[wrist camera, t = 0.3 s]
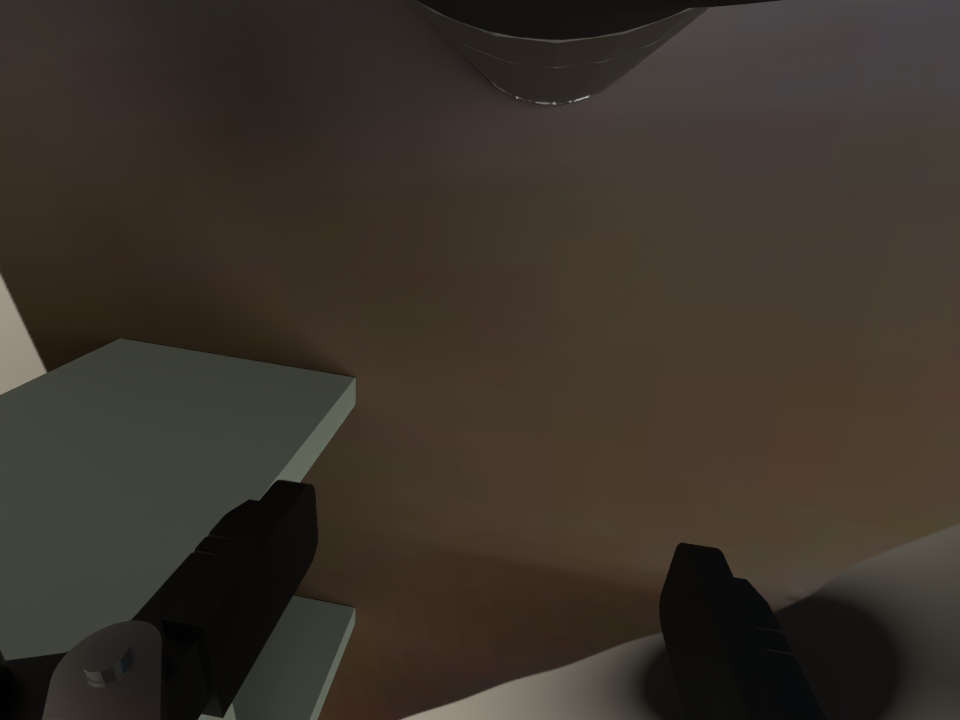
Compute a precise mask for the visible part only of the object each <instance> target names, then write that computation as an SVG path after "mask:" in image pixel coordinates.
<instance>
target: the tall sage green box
mask: <svg viewBox="0 0 960 720" xmlns="http://www.w3.org/2000/svg"><path fill="white" fill-rule="evenodd" d="M355 405H356V378H355V377H349V376H343V375H337V374H331V373H325V372H319V371H313V370H307V369H301V368H295V367H289V366H283V365H277V364H271V363H265V362H259V361H253V360H247V359H241V358H235V357H229V356H223V355H217V354H211V353H205V352H199V351H193V350H187V349H181V348H175V347H169V346H163V345H157V344H151V343H145V342H139V341H133V340H127V339H121V338H120V339H118V340H116V341H113V342H111V343H109V344H107V345H105V346H103V347H101V348H99V349H97V350H95V351H92V352H90V353H88V354H86V355H84V356H82V357H80V358H78V359H76V360H73V361H71V362H69V363H67V364H65V365H63V366H61V367H59V368H57V369H55V370H52V371H50V372H48V373H46V374H44V375H42V376H40V377H38V378H36V379H34V380H31V381H29V382H27V383H25V384H23V385H21V386H19V387H17V388H15V389H12V390H10V391H8V392H6V393H4V394H2V395H0V650H1V652H2V654H3V657H4V659H5V661H6V660H13V659H21V658H28V657H35V656H43V655H50V654H58V653H64V652H69V651H70V650H71V649H72V648H73V647H74V646H75V645H77V644H78V643H79V642H81V641H82V640H83V639H85V638H86V637H88V636H89V635H91V634H93V633H94V632H96V631H98V630H100V629H102V628H105V627H107V626H110V625H112V624H116V623H120V622H125V621H130V620H131V619H132V618H133V617H134V616H135V615H136V614H137V613H138V612H139V611H140V610H141V608H142V607H143V606H144V605H145V604H146V603H147V602H148V601H149V599H150V598H151V597H152V596H153V595H154V594H155V593H156V592H157V590H158V589H159V588H160V587H161V586H162V585H163V584H164V583H165V581H166V580H167V579H168V578H169V577H170V576H171V575H172V574H173V573H174V571H175V570H176V569H177V568H178V567H179V566H180V565H181V564H182V562H183V561H184V560H185V559H186V558H187V557H188V556H189V555H190V553H194V551H195V548H196V547H197V546H198V544H199V543H200V542H201V541H202V540H203V539H204V538H205V537H208V535H209V532H210V531H211V530H212V529H213V528H214V527H215V525H216V524H217V523H218V522H219V521H220V520H221V519H222V518H223V516H224V515H225V514H226V513H228V512H229V511H231V510H233V509H234V508H236V507H237V506H239V505H241V504H242V503H244V502H245V501H247V500H249V499H251V500H258V501H259V500H260V499H261V498H262V496H263V495H264V494H265V493H266V492H267V490H268V489H269V488H270V487H271V486H272V484H273V483H274V482H275V481H277V480H287V481H293V482H301V480H302V479H303V478H304V476H305V475H306V473H307V472H308V471H309V469H310V468H311V466H312V465H313V463H314V462H315V461H316V459H317V458H318V456H319V455H320V454H321V452H322V451H323V449H324V448H325V447H326V445H327V444H328V442H329V441H330V440H331V438H332V437H333V435H334V434H335V433H336V431H337V430H338V428H339V427H340V426H341V424H342V423H343V421H344V420H345V419H346V417H347V416H348V414H349V413H350V412H351V410H352V409H353V407H354V406H355ZM354 625H355V608H354V607H349V606H344V605H339V604H334V603H329V602H324V601H319V600H314V599H309V598H304V597H299V596H294V595H293V597H292V598H291V600H290V602H289V604H288V605H287V607H286V609H285V611H284V612H283V614H282V616H281V618H280V619H279V621H278V623H277V625H276V626H275V628H274V630H273V632H272V633H271V635H270V637H269V639H268V640H267V642H266V644H265V646H264V647H263V649H262V651H261V653H260V654H259V656H258V658H257V660H256V661H255V663H254V665H253V667H252V668H251V670H250V672H249V674H248V675H247V677H246V679H245V681H244V682H243V684H242V686H241V688H240V689H239V691H238V693H237V695H236V696H235V698H234V700H233V702H232V703H231V705H230V707H229V709H228V710H227V712H226V714H225V716H224V717H223V718H219V717H214V716H208V715H203V714H201V716H200V717H199V719H198V720H317V719H318V716H319V713H320V711H321V708H322V706H323V703H324V701H325V698H326V696H327V693H328V691H329V688H330V686H331V683H332V680H333V678H334V675H335V673H336V670H337V668H338V665H339V663H340V660H341V658H342V655H343V653H344V650H345V647H346V645H347V642H348V640H349V637H350V635H351V632H352V630H353V627H354Z"/></svg>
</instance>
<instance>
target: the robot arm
mask: <svg viewBox="0 0 960 720" xmlns="http://www.w3.org/2000/svg"><path fill="white" fill-rule="evenodd" d="M406 1H407V2H408V3H409V4H410V5H411V6H412V7H413V8H414V9H415V10H416V11H417V12H418V13H419V14H420V15H421V16H422V17H424V18H425V19H426V20H427V21H428V22H429V23H430V24H431V25H432V26H433V27H435V28H436V29H437V30H438V31H439V32H440V33H441V34H442V35H443V36H444V37H445V38H446V39H447V40H448V41H449V42H450V43H451V44H452V45H453V46H454V47H455V48H456V49H457V50H458V51H460V52H461V53H462V54H463V55H464V56H465V57H466V58H467V59H468V60H469V61H470V62H471V63H472V64H473V65H474V66H475V67H476V68H477V69H478V70H479V71H480V72H481V73H482V74H483V75H484V76H485V77H487V78H488V79H489V80H490V81H491V82H492V84H493V85H494V86H495V87H497V88H498V89H500V90H501V91H503V92H504V93H506V94H509V95H510V96H513V97H514V98H517V99H519V100H521V101H525V102H529V103H533V104H537V105H565V104H569V103H573V102H578V101H582V100H584V99H586V98H589V97H591V96H592V95H595V94H597V93H599V92H601V91H603V90H604V89H605V88H607V87H608V86H609V85H611V84H612V83H613V82H615V81H616V80H618V79H619V78H621V77H622V76H624V75H625V74H626V73H627V72H629V71H630V70H631V69H633V68H634V67H635V66H636V65H638V64H639V63H640V62H642V61H643V60H644V59H645V58H647V57H648V56H649V55H650V54H652V53H653V52H654V51H656V50H657V49H658V48H659V47H661V46H662V45H663V44H664V43H666V42H667V41H668V40H670V39H671V38H672V37H673V36H675V35H676V34H677V33H679V32H680V31H681V30H682V29H684V28H685V27H686V26H687V25H689V24H690V23H691V22H693V21H694V20H695V19H696V18H698V17H699V16H700V15H701V14H703V13H704V12H705V11H706V10H707V9H708V8H709V7H715V6H728V5H740V4H750V3H759V2H769V1H779V0H406ZM317 542H318V528H317V513H316V498H315V489H314V486H313V485H312V484H306V483H300V482H293V481H287V480H277V481H275V482H274V483H273V484H272V486H271V487H270V488H269V489H268V490H267V492H266V493H265V494H264V495H263V496H262V498H261V499H260V500H259V501H258V500H251V499H249V500H247V501H245V502H244V503H242V504H241V505H239V506H237V507H236V508H234V509H233V510H231V511H229V512H228V513H226V514H225V515H224V516H223V518H222V519H221V520H220V521H219V522H218V523H217V524H216V525H215V527H214V528H213V529H212V530H211V531H210V532H209V535H208V537H205V538H204V539H203V540H202V541H201V542H200V543H199V544H198V546H197V547H196V548H195V551H194V553H190V555H189V556H188V557H187V558H186V559H185V560H184V561H183V562H182V564H181V565H180V566H179V567H178V568H177V569H176V570H175V571H174V573H173V574H172V575H171V576H170V577H169V578H168V579H167V580H166V581H165V583H164V584H163V585H162V586H161V587H160V588H159V589H158V590H157V592H156V593H155V594H154V595H153V596H152V597H151V598H150V599H149V601H148V602H147V603H146V604H145V605H144V606H143V607H142V608H141V610H140V611H139V612H138V613H137V614H136V615H135V616H134V617H133V618H132V619H131V620H130V621H125V622H120V623H116V624H112V625H110V626H107V627H105V628H102V629H100V630H98V631H96V632H94V633H93V634H91V635H89V636H88V637H86V638H85V639H83V640H82V641H81V642H79V643H78V644H77V645H75V646H74V647H73V648H72V649H71V650H70V651H69V652H64V653H58V654H50V655H43V656H35V657H28V658H21V659H13V660H6V661H5V659H4V657H3V654H2V652H1V650H0V720H198V719H199V717H200V716H201V714H203V715H208V716H214V717H219V718H223V717H224V716H225V714H226V712H227V710H228V709H229V707H230V705H231V703H232V702H233V700H234V698H235V696H236V695H237V693H238V691H239V689H240V688H241V686H242V684H243V682H244V681H245V679H246V677H247V675H248V674H249V672H250V670H251V668H252V667H253V665H254V663H255V661H256V660H257V658H258V656H259V654H260V653H261V651H262V649H263V647H264V646H265V644H266V642H267V640H268V639H269V637H270V635H271V633H272V632H273V630H274V628H275V626H276V625H277V623H278V621H279V619H280V618H281V616H282V614H283V612H284V611H285V609H286V607H287V605H288V604H289V602H290V600H291V598H292V597H293V595H294V593H295V591H296V590H297V588H298V586H299V584H300V583H301V581H302V579H303V577H304V576H305V574H306V572H307V570H308V569H309V567H310V565H311V563H312V561H313V558H314V555H315V552H316V548H317ZM659 614H660V624H661V628H662V632H663V636H664V640H665V644H666V648H667V652H668V656H669V660H670V664H671V668H672V672H673V676H674V681H675V684H676V688H677V693H678V697H679V700H680V704H681V709H682V713H683V716H684V720H826V718H825V716H824V714H823V712H822V710H821V708H820V706H819V704H818V702H817V700H816V698H815V696H814V694H813V692H812V690H811V688H810V686H809V684H808V682H807V680H806V678H805V676H804V674H803V672H802V670H801V668H800V666H799V664H798V662H797V660H796V658H795V657H793V656H792V650H791V648H790V646H789V644H788V642H787V640H786V638H785V636H784V634H781V628H780V626H779V624H778V622H777V620H776V618H775V616H774V614H773V612H772V610H771V608H770V606H769V604H768V603H767V601H766V600H765V599H764V598H763V597H762V596H761V595H760V594H759V593H758V592H757V591H756V589H755V588H754V587H753V586H752V585H751V584H750V583H749V582H748V581H747V580H746V579H741V578H734V577H733V575H732V572H731V570H730V568H729V566H728V564H727V561H726V559H725V557H724V555H723V553H722V552H721V550H719V549H718V548H713V547H706V546H700V545H693V544H687V543H680V544H679V545H678V546H677V548H676V550H675V553H674V556H673V559H672V562H671V565H670V568H669V571H668V574H667V577H666V580H665V583H664V586H663V589H662V592H661V596H660V605H659Z"/></svg>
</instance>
